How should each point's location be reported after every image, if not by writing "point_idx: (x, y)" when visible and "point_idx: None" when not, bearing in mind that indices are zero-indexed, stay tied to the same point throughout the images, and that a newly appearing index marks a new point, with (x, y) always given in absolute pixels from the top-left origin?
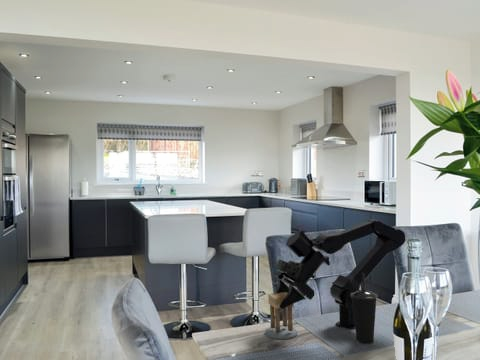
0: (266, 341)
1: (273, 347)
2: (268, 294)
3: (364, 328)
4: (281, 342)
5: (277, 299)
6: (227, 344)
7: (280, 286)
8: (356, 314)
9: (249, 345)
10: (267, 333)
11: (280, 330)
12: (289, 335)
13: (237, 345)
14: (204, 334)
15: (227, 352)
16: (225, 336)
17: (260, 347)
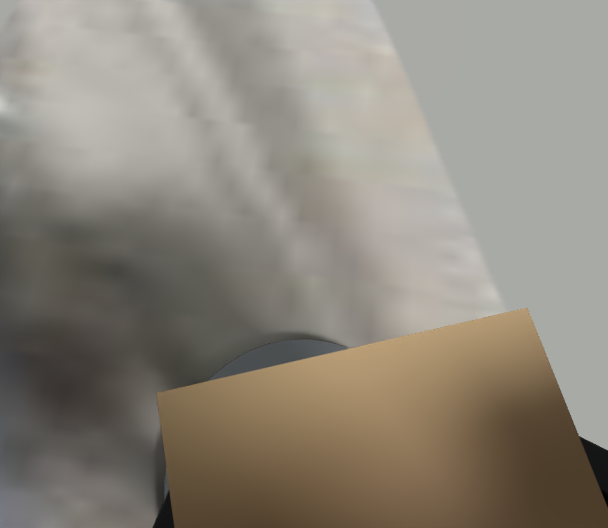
0: (154, 329)
1: (21, 364)
2: (515, 311)
3: None
4: (107, 444)
5: (167, 445)
6: (156, 90)
7: None
8: None
9: (107, 207)
10: (275, 351)
11: None
12: None
13: (126, 139)
14: (335, 3)
15: (28, 76)
16: (291, 95)
17: (50, 271)
